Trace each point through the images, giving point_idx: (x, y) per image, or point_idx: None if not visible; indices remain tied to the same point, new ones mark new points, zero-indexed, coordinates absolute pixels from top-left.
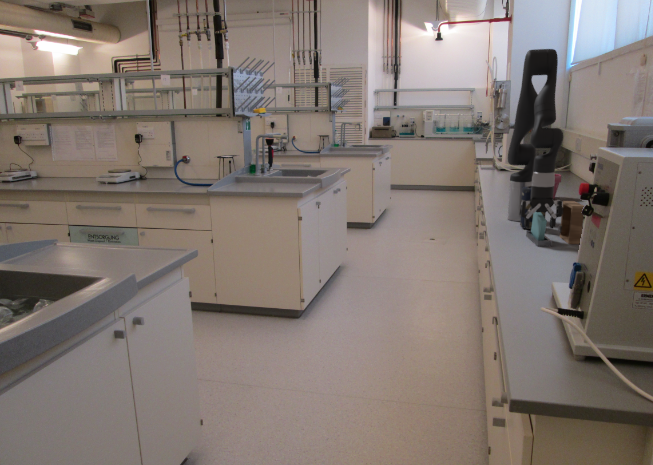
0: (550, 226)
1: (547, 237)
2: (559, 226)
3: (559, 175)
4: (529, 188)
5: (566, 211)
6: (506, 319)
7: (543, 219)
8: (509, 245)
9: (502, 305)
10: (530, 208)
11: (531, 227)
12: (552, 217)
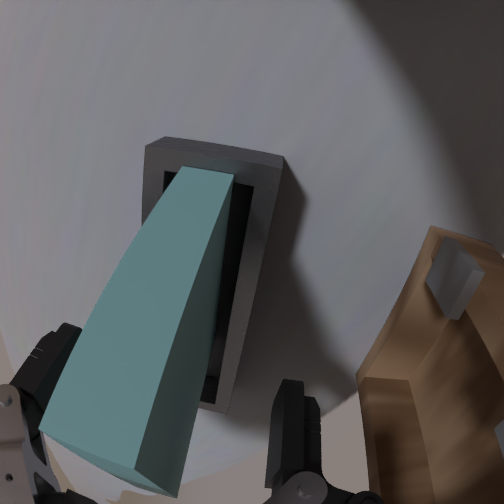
0: (277, 400)
1: (238, 364)
2: (454, 292)
3: None
4: None
5: None
6: (77, 491)
7: (154, 491)
8: (41, 322)
9: (71, 483)
10: (2, 485)
11: (165, 191)
12: (271, 495)
